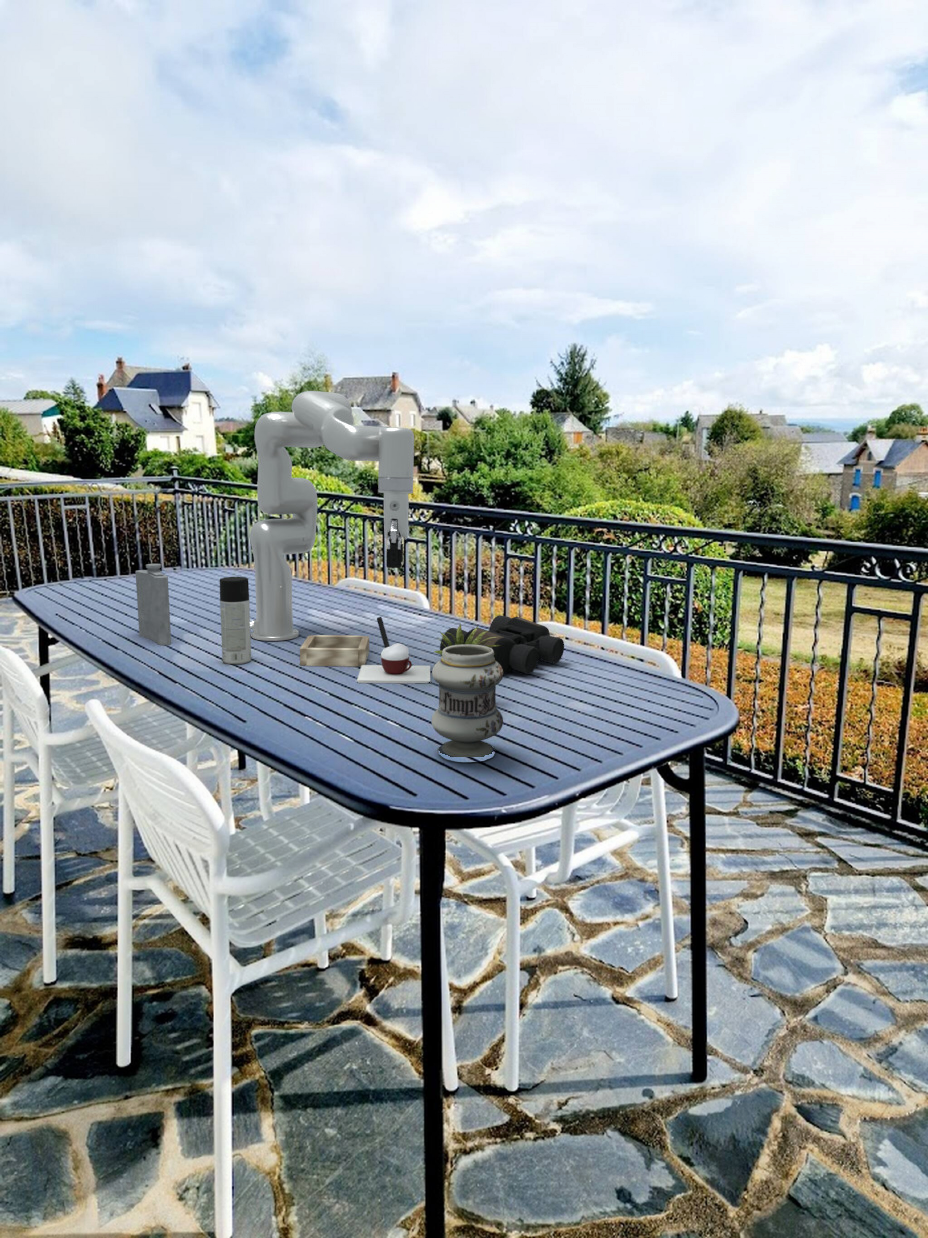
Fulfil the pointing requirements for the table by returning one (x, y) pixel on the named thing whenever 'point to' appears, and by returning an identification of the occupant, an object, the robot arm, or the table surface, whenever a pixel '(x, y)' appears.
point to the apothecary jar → (467, 700)
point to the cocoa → (393, 654)
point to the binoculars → (516, 643)
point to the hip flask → (153, 604)
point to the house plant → (460, 639)
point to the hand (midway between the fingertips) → (394, 564)
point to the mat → (380, 676)
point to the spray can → (235, 620)
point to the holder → (334, 650)
